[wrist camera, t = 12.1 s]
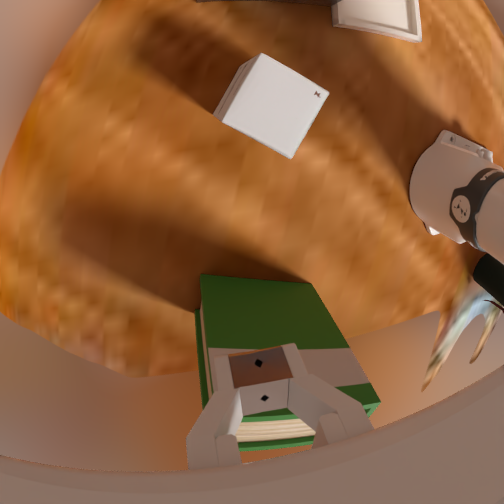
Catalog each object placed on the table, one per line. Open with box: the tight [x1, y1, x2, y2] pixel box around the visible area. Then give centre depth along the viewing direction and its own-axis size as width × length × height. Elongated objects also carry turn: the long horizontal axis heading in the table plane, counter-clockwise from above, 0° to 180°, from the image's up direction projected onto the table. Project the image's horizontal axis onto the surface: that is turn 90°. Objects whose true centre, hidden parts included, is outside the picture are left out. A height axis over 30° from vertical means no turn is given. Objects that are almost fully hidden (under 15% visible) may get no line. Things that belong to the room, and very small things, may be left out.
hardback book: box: [195, 274, 381, 451], centre depth 38 cm, size 18×7×24 cm, turn 77°
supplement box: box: [213, 53, 329, 159], centre depth 30 cm, size 7×7×13 cm
